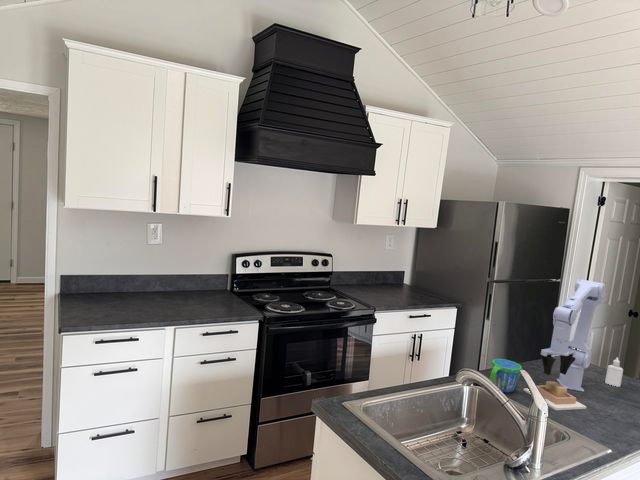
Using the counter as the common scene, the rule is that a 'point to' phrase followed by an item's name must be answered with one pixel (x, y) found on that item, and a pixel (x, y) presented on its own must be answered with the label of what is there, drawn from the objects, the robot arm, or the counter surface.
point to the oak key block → (555, 389)
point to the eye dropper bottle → (614, 374)
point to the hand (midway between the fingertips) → (554, 373)
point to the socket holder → (559, 400)
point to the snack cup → (505, 374)
